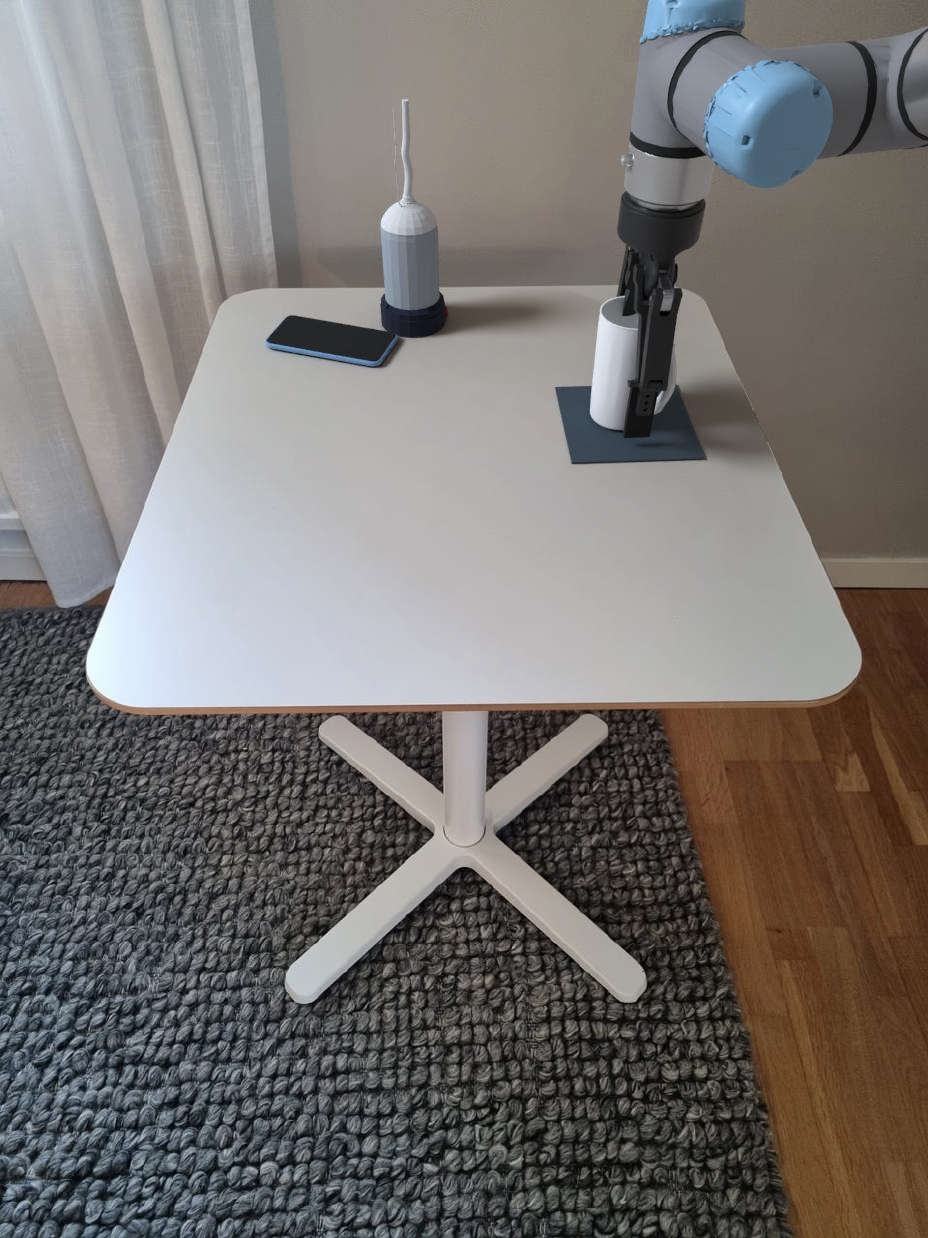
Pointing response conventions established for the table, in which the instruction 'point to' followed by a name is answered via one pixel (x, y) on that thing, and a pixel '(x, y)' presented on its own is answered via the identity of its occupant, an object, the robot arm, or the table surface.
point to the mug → (618, 366)
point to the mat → (606, 445)
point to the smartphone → (332, 340)
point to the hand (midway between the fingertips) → (628, 410)
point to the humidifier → (410, 259)
